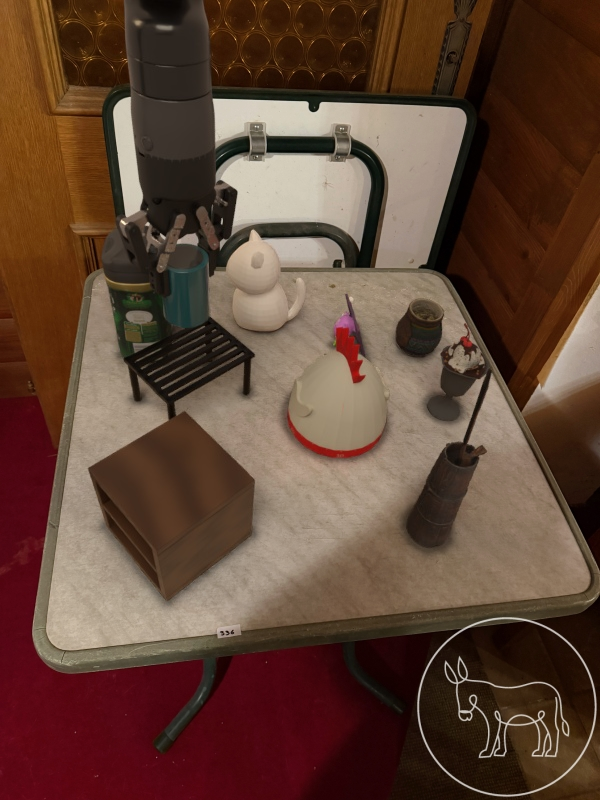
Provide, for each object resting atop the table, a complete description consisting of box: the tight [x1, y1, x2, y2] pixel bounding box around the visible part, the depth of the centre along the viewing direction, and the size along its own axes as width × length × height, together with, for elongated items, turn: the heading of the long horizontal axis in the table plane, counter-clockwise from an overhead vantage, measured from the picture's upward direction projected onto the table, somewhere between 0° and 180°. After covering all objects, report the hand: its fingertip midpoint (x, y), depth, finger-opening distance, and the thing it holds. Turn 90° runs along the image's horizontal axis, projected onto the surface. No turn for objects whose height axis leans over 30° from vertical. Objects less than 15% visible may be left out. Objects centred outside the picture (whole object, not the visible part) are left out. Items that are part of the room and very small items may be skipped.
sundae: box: [426, 322, 491, 422], centre depth 78 cm, size 7×7×15 cm
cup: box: [162, 243, 211, 329], centre depth 65 cm, size 6×6×8 cm
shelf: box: [87, 410, 256, 602], centre depth 61 cm, size 12×12×12 cm
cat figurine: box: [225, 229, 307, 332], centre depth 87 cm, size 9×12×15 cm
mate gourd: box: [395, 297, 445, 357], centre depth 88 cm, size 7×8×10 cm
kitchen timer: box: [286, 327, 391, 459], centre depth 74 cm, size 14×14×15 cm
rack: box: [122, 315, 256, 421], centre depth 77 cm, size 14×10×8 cm
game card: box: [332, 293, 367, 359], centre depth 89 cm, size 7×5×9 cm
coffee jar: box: [100, 225, 174, 363], centre depth 79 cm, size 10×8×19 cm
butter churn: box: [406, 365, 494, 549], centre depth 59 cm, size 9×10×28 cm
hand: (184, 282), depth 65 cm, fingers closed on cup, 5 cm apart
